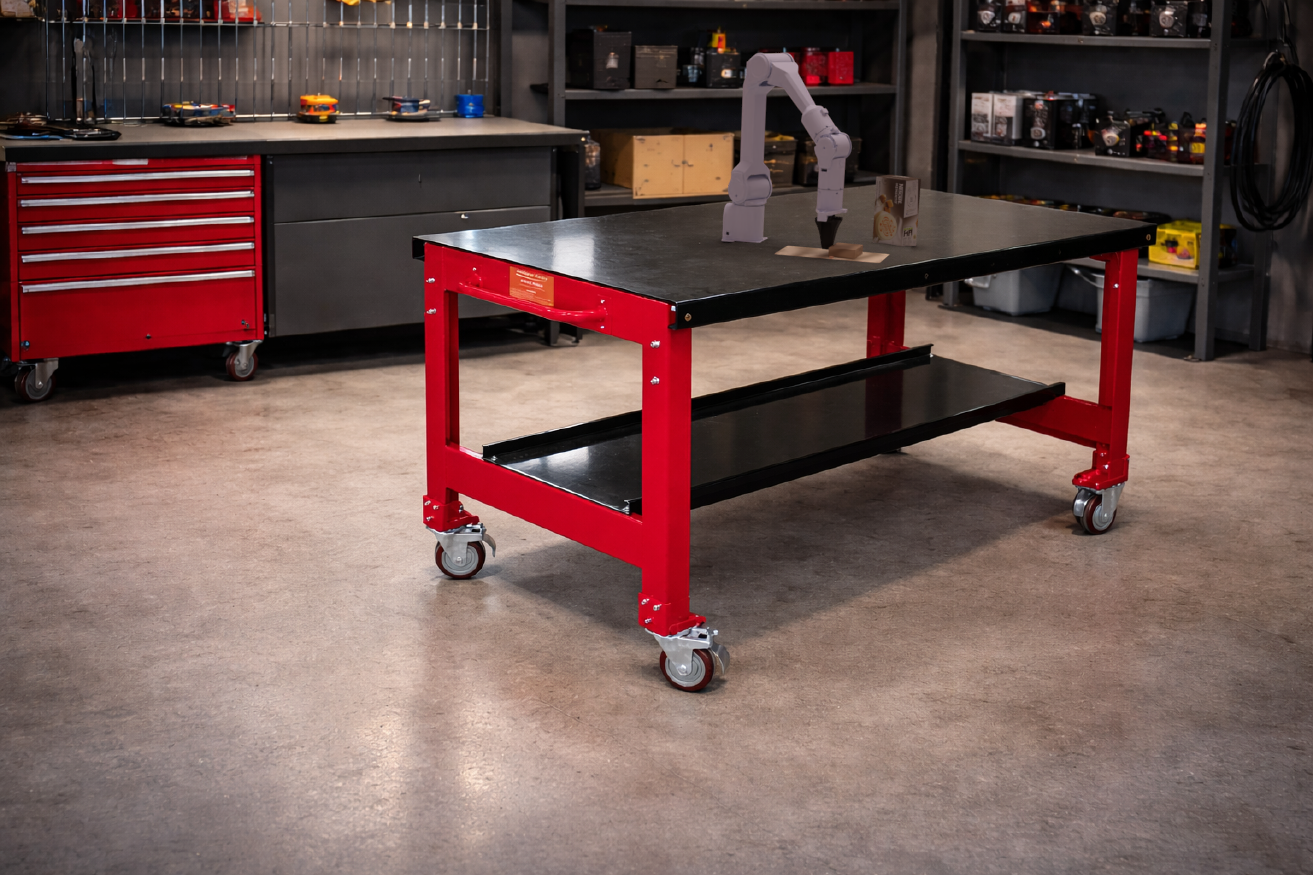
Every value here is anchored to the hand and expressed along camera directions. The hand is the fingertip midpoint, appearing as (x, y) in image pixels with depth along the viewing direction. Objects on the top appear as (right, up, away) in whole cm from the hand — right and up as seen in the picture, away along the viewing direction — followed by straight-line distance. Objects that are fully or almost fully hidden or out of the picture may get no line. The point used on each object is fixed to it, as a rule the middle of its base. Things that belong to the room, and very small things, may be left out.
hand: (826, 249), depth 309 cm
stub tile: (+4, -1, -1) cm, 4 cm away
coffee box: (+18, +3, +18) cm, 26 cm away
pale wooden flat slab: (+1, -2, 0) cm, 2 cm away
